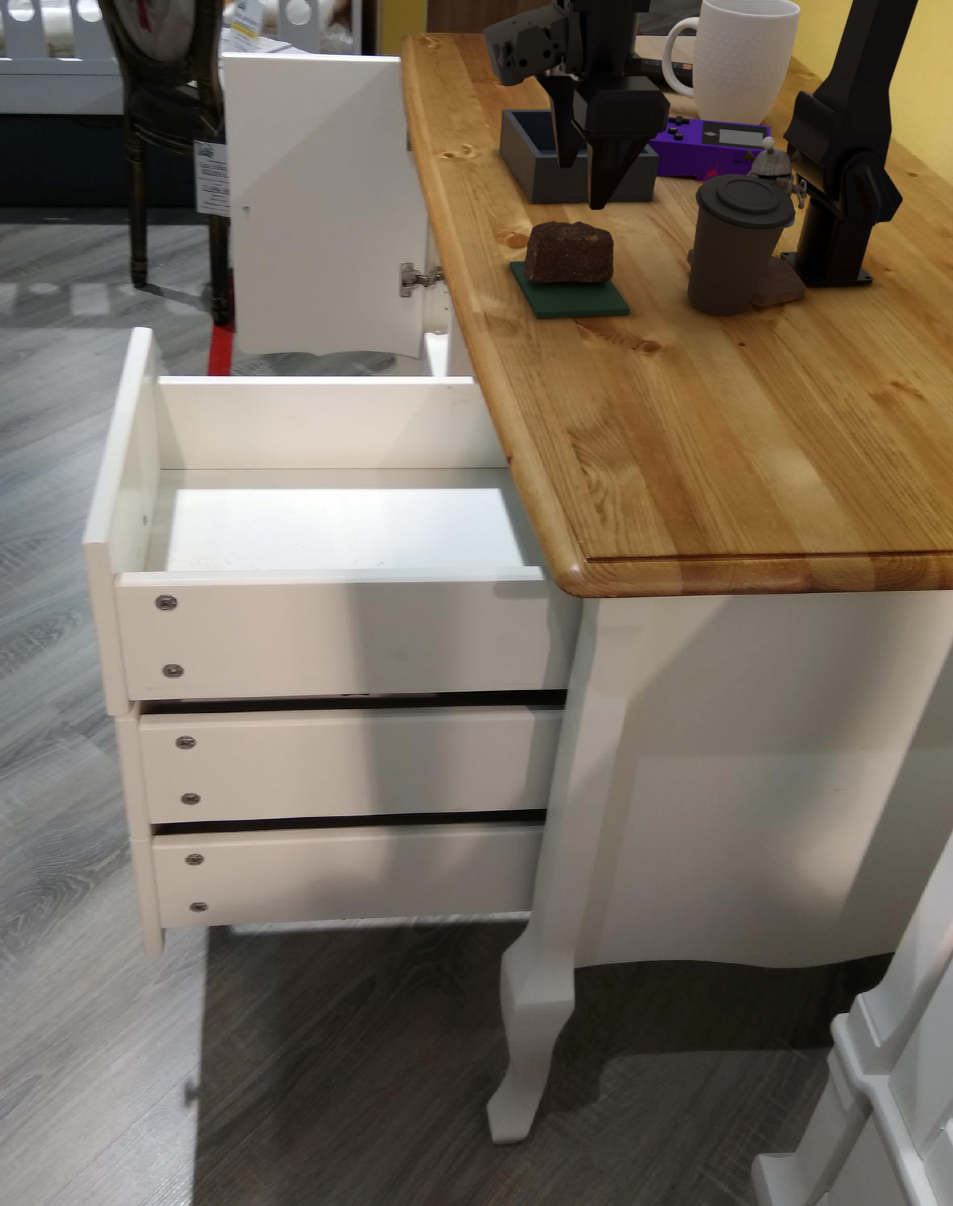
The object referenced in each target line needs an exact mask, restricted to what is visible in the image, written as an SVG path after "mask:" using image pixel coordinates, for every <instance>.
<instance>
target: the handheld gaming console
mask: <svg viewBox="0 0 953 1206" xmlns="http://www.w3.org/2000/svg"><path fill="white" fill-rule="evenodd" d="M766 137H772V135H771V126H770V125H760V124H759V125H751V124H740V123H729V122H719V121H708V120H701V119H697V118H687V117H686V118H685V117H683V115H676V116H669V117H668V123H667V129H666V131H664V132H662V133H658V135H657V137H656V138H655V139H650V141H649V142H648V143H647V144H648V145H649V146H650V147H651V148H652V149H653V150H654V151H655V152H656V153H657V154H658V155H659V160H658V167H657V173H656V176H661V177H679V176H694V177H695V180H697V181H699V182H706V181H707V180H708V179H710V178H713V177H715V176H720V175H727V174H737V175H747V174H748V173H749V172H750V171H751V169H752V164H753V162H754V161H750V160H747V161H743V160H744V158H745V156H746V154H747V152H748V150H749V149H750V151H751V153H752V154H753V156H754V157H755V158H756V157H757V156H758V155H759V154H760V153H761V152H762V151H764V150H766V149H764V148H763V146H762V142H763V140H764V139H765V138H766Z"/></svg>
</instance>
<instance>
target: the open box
mask: <svg viewBox="0 0 953 1206" xmlns="http://www.w3.org/2000/svg"><path fill="white" fill-rule="evenodd" d="M500 121H501V123H500V137H499V148H498V149H499V151H498V153H499V155H500V156H501V157H502V160H503V161H504V163H505V164H506V166H507V167H508V169H509V170H510V172H511V173H512V175H513V176H514V178H515V180H516V182H518V184H519V186H520V188H521V189H522V191H523V192H524V194H525V195H526V197H527V199H528V200H529V202H530V203H531V204H564V203H567V204H568V203H569V204H570V203H571V204H572V203H589V198H588V159H587V141H586V140H585V138H584V141H583V143H582V146H581V148H580V150H579V153H578V155H577V157H576V159H575V161H574V164H573V166H572V167H571V168H560V167H559V165H558V158H557V151H556V143H555V136H554V129H553V121H552V114H551V108H547V109H545V108H544V109H542V108H539V109H538V108H536V109H535V108H534V109H531V108H529V109H528V108H527V109H526V108H525V109H524V108H523V109H522V108H521V109H520V108H515V109H514V108H512V109H510V108H508V109H505V108H504V109H501V120H500ZM658 160H659V155H658V154H657V153H656V152H655V151H654V150H653V149H652V148H651V147H650V146H649V145H648V144H647V145H646V146H645V148H644V149H643V150H642V152H641V153H640V154H639V156H638V157H637V158H636V160H635V161H634V163H633V164H632V165H631V167H630V169H629V170H628V172H627V173H626V175H625V176H624V178H623V179H622V181H621V182H620V184H619V185H618V187H617V189H616V190H615V192H614V193H613V195H612V196H611V198H610V199H609V201H608V203H613V202H614V203H617V202H652V201H653V197H654V191H655V185H656V179H657V175H656V173H657V167H658Z"/></svg>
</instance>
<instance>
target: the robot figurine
mask: <svg viewBox="0 0 953 1206" xmlns="http://www.w3.org/2000/svg"><path fill="white" fill-rule="evenodd" d="M775 144H776V142H775V139H774V138H773V137H772V136H771V137H766V138H765V139H764V140H763V142H762V146H763V148H764V149H766V150H764V151H762V152H761V153H760V154H759V155H758V156H757V157H756V158H755V157H754V156H753V154H752V153H751V151H750V149H749V150H748V152H747V154H746V156H745V158H744V160H743V161H747V160H750V161H754V162H753V164H752V169H751V171H750V172H749V173H748V174H747V175H746V176H751V177H756V178H759V179H762V180H765V181H768V182H770V183H772V184H774V185H776V186H778V187H779V188H781V189H782V190H783V191H785V192H786V193H787V194H788V195H789V196H790V198H791V199H792V195H793V194H794V195H795V196H796V198H797V202H798V205H797V208H798V210H803V209H804V208H805V200H806V199H807V197H808V194H806V193H805V192H806V184H807V181H805V180H803V179H802V180H801V182H800V186H799V185H797V183H796V184H794V180H795V178H796V175H795V174H793V168H792V164H791V162H793V161H797V162H800V163H802V158H801V155H800V152H799V151H798V150H796V152H795V154H794V155H793V156H792V157H791V158H789V156H788V154H787V153H786V151H784V150H781V149H780V148H777V147H775ZM774 147H775V148H774ZM795 222H796V216H795V217H794V220H793V221H792V222H791V223H790V224H789V225H788V226H786V227H784V229H786V228H791V227H792V226H794V224H795ZM692 254H693V248H692V249H691V248H690V249H689V250H688V254H687V257H686V262H687V264H688V265H689V267H690V268H691V261H692ZM807 287H808V286H807V285H806V284H804V283H803V282H802V280H801V279H800V278H799V276H798V275H797V273H796V272H795V271H794V269H793V268H792V267H791V265H790V264H789V263H788V261H786V260H783V259H780V257H776V256H774V255H772V256H771V258H770V260H769V262H768V265H767V267H766V269H765V271H764V273H763V276H762V278H761V280H760V282H759V284H758V286H757V289H756V291H755V293H754V295H753V297H752V300H751V302H750V304H753V305H756V306H759V307H767V306H772V305H777V304H781V303H786V302H791V301H796V300H800V299H804V297H805V294H806V292H807V290H808V288H807Z"/></svg>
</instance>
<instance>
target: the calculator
mask: <svg viewBox="0 0 953 1206" xmlns="http://www.w3.org/2000/svg"><path fill="white" fill-rule="evenodd" d="M641 58H642V64H641V71H640V73H638V72H624V73H623V76H646V77H647V78H648V79H649V80H650V81H651V82H652V83H659V84H667V85H669V84H668V83H667V81H666V79H665V77H664V74H663V69H662V59H657V58H649V57H641ZM671 64H672V70H673V73H674V75H675V77H676V78H677V80H678V81H679V82H680V83H681V84H683V85H685V86H687V87H689V88H693V63H688V62H680V61H672V60H671Z"/></svg>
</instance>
